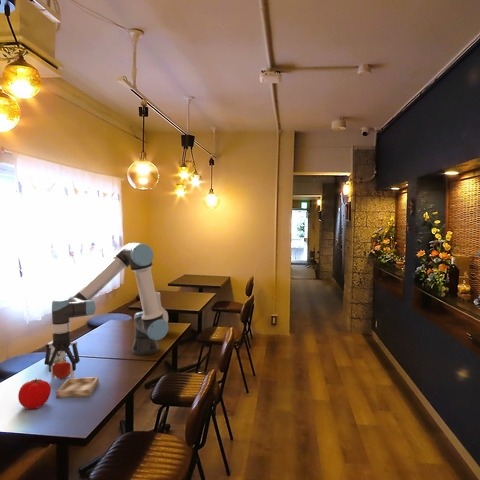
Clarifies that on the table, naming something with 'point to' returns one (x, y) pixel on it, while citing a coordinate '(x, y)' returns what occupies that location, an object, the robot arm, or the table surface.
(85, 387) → the tray
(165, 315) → the vase
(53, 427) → the table surface
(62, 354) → the ink box
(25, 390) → the tomato
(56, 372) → the apple
